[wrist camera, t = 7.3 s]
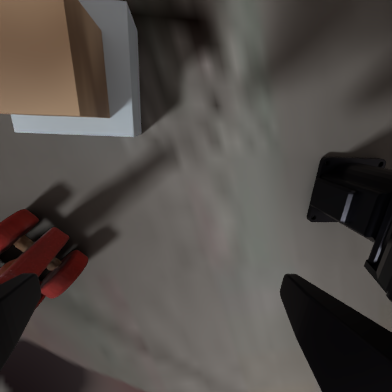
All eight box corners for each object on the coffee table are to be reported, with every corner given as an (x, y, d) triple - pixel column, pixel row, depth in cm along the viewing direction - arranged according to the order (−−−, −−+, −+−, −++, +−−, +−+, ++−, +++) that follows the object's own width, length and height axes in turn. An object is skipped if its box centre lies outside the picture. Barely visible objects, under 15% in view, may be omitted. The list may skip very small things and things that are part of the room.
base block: (138, 32, 15) (126, 1, 11) (141, 134, 17) (133, 136, 13) (32, 22, 14) (-20, -16, 10) (51, 130, 16) (14, 132, 12)
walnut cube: (110, 118, 13) (79, 115, 9) (31, 115, 12) (-42, 111, 8) (101, 30, 11) (60, -24, 7) (11, 23, 11) (-91, -41, 7)
